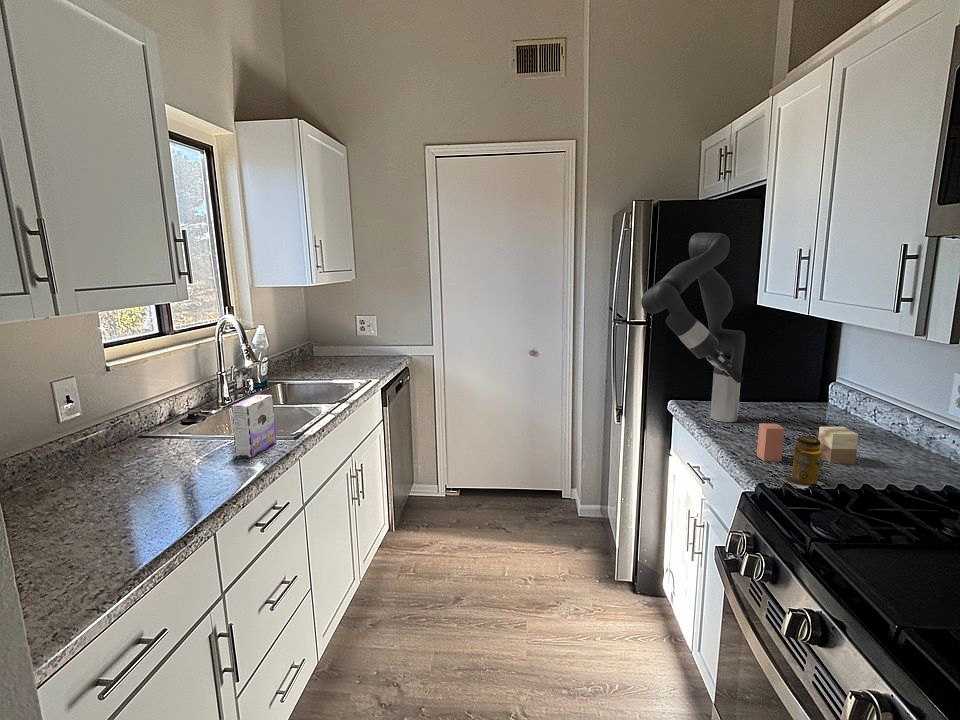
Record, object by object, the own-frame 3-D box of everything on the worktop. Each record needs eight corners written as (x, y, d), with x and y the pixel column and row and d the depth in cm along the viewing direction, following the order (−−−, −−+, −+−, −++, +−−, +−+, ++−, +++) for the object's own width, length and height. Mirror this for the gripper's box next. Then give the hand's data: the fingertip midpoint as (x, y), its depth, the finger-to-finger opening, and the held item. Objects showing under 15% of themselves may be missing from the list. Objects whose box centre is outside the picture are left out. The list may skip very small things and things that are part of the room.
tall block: (756, 455, 165) (759, 423, 163) (773, 455, 165) (776, 423, 163) (763, 461, 160) (766, 428, 159) (781, 461, 160) (784, 428, 158)
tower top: (818, 440, 164) (819, 426, 164) (842, 441, 164) (843, 426, 163) (831, 448, 158) (833, 434, 157) (856, 449, 157) (858, 434, 156)
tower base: (817, 455, 165) (818, 440, 164) (841, 455, 165) (842, 441, 164) (829, 463, 158) (831, 448, 158) (855, 464, 158) (857, 449, 157)
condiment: (825, 484, 144) (830, 441, 142) (803, 490, 141) (808, 445, 138) (799, 474, 151) (803, 433, 148) (778, 479, 147) (782, 437, 145)
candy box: (261, 441, 181) (257, 393, 178) (277, 442, 180) (273, 394, 177) (234, 456, 168) (229, 404, 165) (251, 457, 167) (247, 405, 164)
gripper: (716, 332, 150) (755, 374, 151) (699, 326, 164) (736, 364, 165) (695, 351, 152) (734, 392, 153) (680, 343, 166) (716, 381, 167)
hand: (735, 377), depth 159 cm, fingers open, 8 cm apart
